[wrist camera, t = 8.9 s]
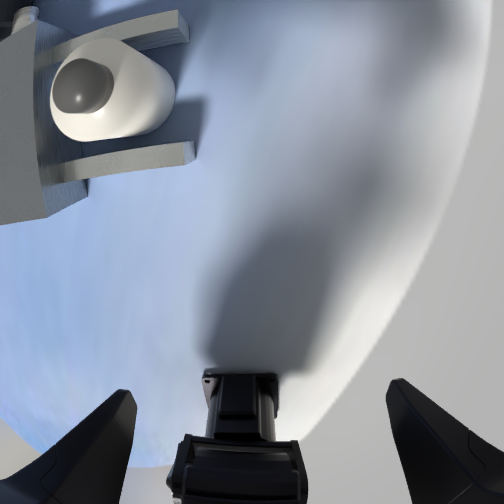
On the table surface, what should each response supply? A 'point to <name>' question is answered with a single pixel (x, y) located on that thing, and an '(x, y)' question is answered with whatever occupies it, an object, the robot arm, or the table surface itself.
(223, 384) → the robot arm
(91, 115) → the white cylinder
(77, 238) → the table surface
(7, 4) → the pipe connector
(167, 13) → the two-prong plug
